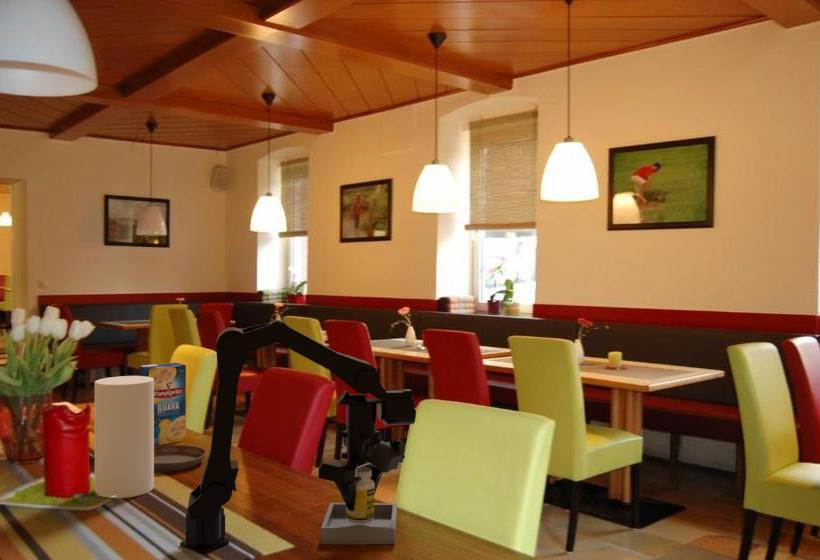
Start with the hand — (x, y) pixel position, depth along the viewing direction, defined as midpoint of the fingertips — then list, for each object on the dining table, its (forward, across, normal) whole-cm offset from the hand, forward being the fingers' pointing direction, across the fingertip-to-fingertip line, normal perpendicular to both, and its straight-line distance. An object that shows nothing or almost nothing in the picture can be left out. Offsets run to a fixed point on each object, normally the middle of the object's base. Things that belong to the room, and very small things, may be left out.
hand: (360, 506), depth 137 cm
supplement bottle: (+3, 0, 0) cm, 3 cm away
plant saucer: (+5, +7, +68) cm, 68 cm away
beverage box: (+5, +20, +89) cm, 91 cm away
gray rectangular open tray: (+5, 0, 0) cm, 5 cm away
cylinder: (+5, -12, +59) cm, 60 cm away
